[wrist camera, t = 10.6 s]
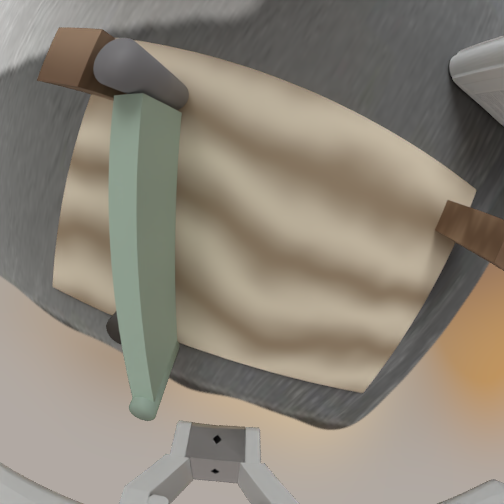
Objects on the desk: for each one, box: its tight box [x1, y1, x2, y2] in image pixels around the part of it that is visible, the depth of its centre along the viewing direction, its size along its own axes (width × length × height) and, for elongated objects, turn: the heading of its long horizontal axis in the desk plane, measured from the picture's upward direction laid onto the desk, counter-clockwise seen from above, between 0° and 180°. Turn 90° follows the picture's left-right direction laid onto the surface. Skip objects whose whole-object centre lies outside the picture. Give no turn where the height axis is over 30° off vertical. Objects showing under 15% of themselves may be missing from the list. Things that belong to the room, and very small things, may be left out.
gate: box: [93, 38, 189, 421], centre depth 18 cm, size 23×2×10 cm, turn 175°
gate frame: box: [37, 28, 504, 393], centre depth 19 cm, size 24×34×11 cm
